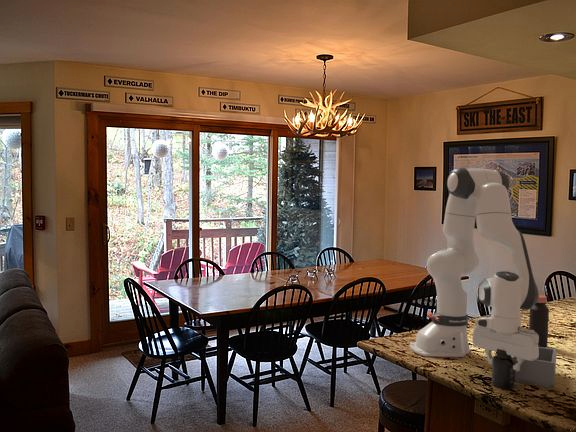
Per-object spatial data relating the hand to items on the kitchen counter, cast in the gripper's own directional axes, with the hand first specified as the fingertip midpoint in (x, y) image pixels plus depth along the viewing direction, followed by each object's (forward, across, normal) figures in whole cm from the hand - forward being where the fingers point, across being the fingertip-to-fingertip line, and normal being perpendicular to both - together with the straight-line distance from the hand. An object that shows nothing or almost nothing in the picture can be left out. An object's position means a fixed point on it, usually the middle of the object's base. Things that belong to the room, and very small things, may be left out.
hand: (503, 366), depth 163 cm
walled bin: (+6, -3, -16) cm, 17 cm away
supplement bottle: (+6, 0, 0) cm, 6 cm away
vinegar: (+6, +11, -50) cm, 52 cm away
